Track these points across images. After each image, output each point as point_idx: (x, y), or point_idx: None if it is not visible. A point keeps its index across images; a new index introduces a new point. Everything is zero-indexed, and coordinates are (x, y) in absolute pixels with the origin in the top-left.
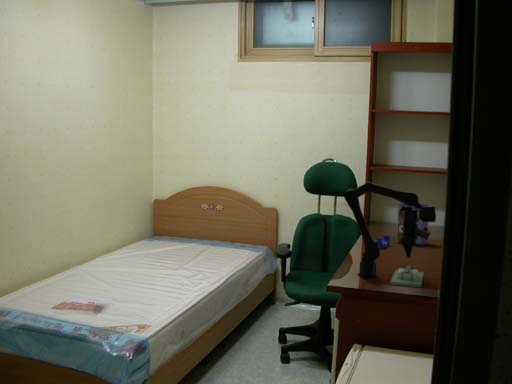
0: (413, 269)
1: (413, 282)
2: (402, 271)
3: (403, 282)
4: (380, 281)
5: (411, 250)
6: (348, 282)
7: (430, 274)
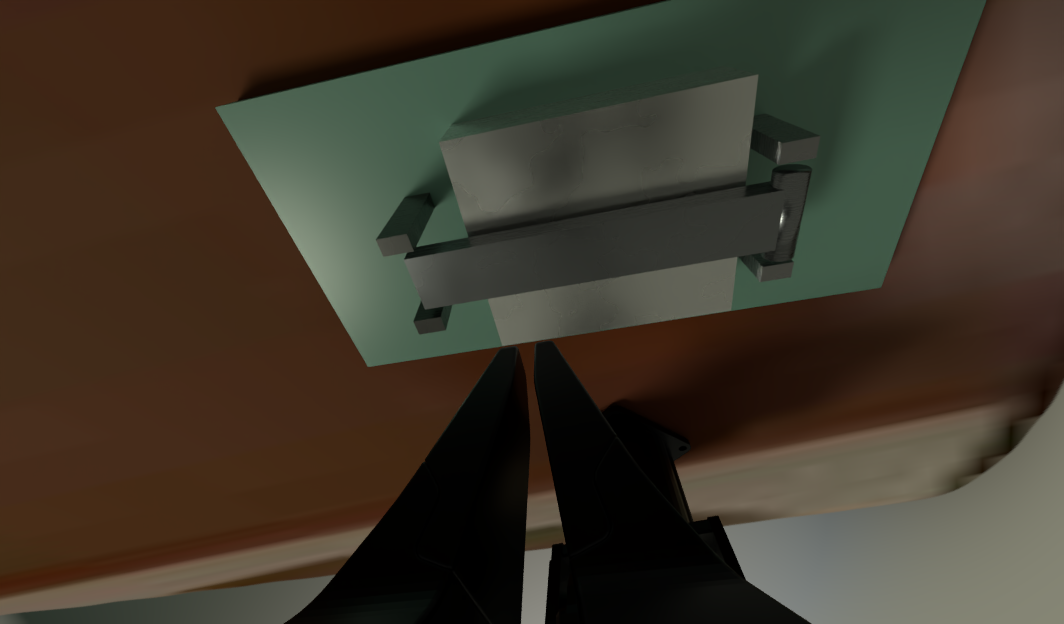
0: (461, 203)
1: (897, 64)
2: (775, 268)
3: (909, 174)
4: (764, 354)
5: (619, 442)
6: (847, 469)
7: (117, 14)
